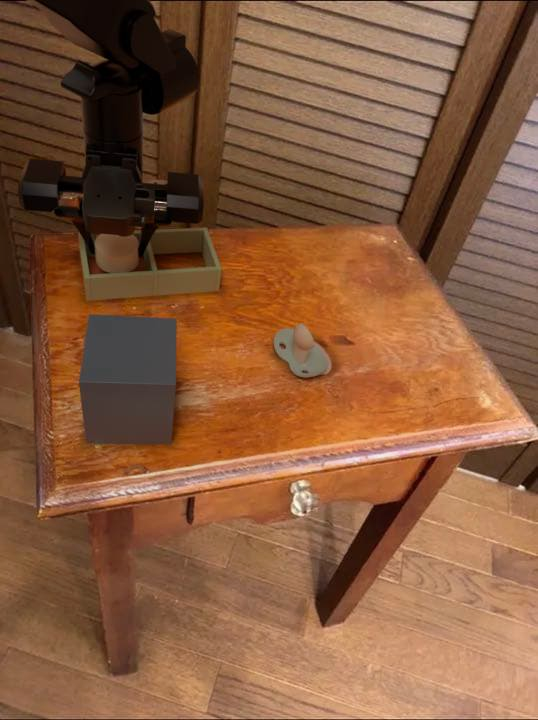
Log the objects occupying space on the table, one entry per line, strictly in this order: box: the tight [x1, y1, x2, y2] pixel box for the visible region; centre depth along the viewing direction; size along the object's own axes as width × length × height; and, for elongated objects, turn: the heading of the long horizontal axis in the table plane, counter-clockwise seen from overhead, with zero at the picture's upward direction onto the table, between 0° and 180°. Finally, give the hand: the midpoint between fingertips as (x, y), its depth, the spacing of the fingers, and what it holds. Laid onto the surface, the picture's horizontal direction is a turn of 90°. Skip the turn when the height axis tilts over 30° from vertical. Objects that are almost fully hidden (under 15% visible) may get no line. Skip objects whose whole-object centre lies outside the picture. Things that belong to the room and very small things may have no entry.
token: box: [95, 234, 139, 273], centre depth 69 cm, size 5×5×2 cm
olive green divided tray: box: [77, 227, 223, 302], centre depth 72 cm, size 16×8×4 cm, turn 107°
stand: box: [78, 313, 178, 446], centre depth 56 cm, size 8×8×10 cm
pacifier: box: [273, 322, 333, 378], centre depth 66 cm, size 7×6×6 cm
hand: (117, 253), depth 69 cm, fingers closed on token, 5 cm apart
